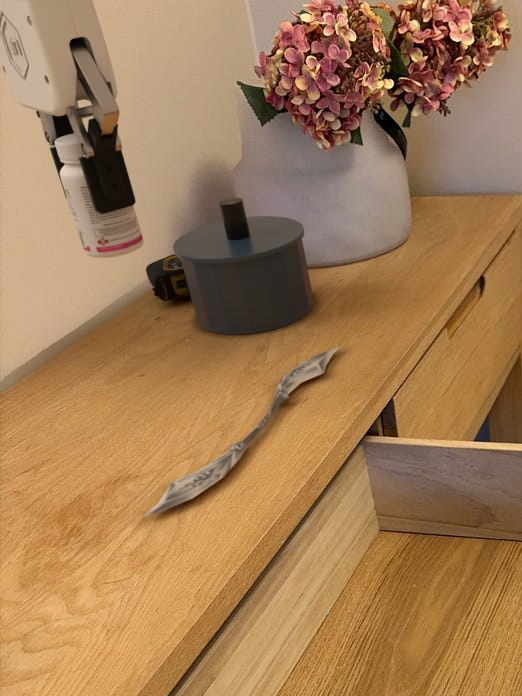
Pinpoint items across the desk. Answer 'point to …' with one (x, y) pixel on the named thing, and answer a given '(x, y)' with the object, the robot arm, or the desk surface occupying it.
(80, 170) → the pill bottle
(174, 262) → the tape measure
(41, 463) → the desk surface
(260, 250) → the pot lid
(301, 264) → the pot
